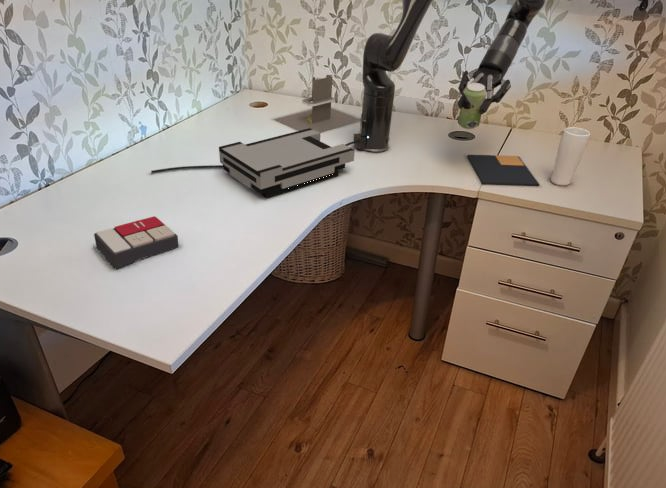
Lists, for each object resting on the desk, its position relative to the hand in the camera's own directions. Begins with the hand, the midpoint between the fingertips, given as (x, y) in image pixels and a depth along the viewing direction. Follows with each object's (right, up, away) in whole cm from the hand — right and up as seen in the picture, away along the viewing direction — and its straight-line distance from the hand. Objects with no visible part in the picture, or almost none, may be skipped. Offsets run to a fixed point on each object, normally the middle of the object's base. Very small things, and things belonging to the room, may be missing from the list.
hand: (470, 109), depth 147 cm
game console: (-51, -17, +6) cm, 54 cm away
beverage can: (+1, -4, +5) cm, 6 cm away
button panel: (-84, -41, -27) cm, 97 cm away
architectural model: (-41, +11, +43) cm, 60 cm away
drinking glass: (+27, -19, +5) cm, 34 cm away
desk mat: (+13, -15, +11) cm, 22 cm away
